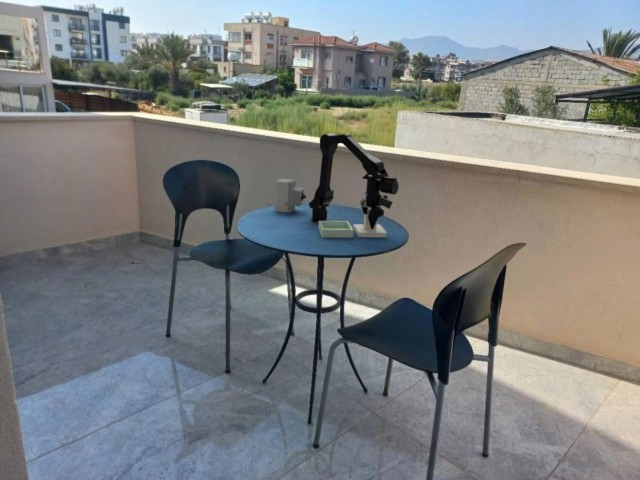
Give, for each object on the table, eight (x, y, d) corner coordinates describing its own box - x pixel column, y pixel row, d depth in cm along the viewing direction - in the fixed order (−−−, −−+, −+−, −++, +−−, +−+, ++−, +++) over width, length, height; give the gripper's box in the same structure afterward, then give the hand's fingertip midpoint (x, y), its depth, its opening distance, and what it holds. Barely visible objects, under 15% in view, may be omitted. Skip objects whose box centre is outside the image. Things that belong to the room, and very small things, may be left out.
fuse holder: (358, 237, 184) (358, 232, 184) (353, 228, 196) (353, 224, 195) (386, 237, 186) (386, 232, 185) (379, 228, 197) (379, 224, 196)
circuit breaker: (303, 214, 215) (304, 183, 210) (274, 211, 217) (275, 181, 212) (306, 210, 222) (307, 180, 217) (279, 207, 224) (279, 178, 219)
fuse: (364, 234, 189) (365, 216, 186) (363, 231, 192) (364, 214, 189) (375, 234, 190) (377, 216, 187) (374, 231, 192) (375, 214, 190)
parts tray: (322, 237, 182) (322, 229, 181) (318, 227, 194) (318, 220, 193) (352, 237, 184) (353, 230, 182) (347, 228, 196) (347, 221, 195)
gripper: (397, 196, 177) (394, 233, 182) (385, 186, 195) (382, 220, 200) (370, 195, 176) (367, 232, 181) (361, 185, 193) (358, 220, 198)
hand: (369, 226), depth 190 cm, fingers open, 8 cm apart
